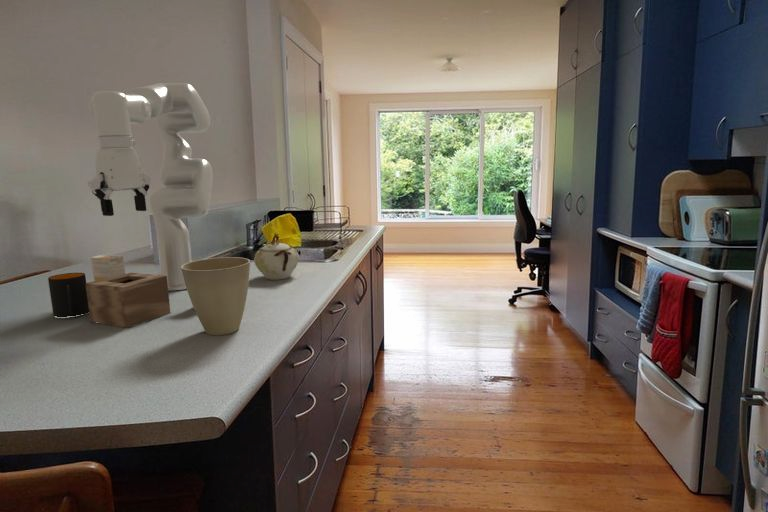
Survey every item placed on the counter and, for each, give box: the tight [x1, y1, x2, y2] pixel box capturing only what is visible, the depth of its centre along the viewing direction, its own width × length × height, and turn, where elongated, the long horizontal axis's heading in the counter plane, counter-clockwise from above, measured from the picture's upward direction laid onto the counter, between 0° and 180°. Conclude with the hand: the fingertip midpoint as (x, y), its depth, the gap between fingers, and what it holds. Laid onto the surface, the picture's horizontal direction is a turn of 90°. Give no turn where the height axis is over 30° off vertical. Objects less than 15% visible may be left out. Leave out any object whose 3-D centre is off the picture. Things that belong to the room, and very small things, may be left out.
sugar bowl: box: [253, 233, 300, 281], centre depth 170 cm, size 20×15×15 cm
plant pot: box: [181, 256, 251, 336], centre depth 114 cm, size 15×15×16 cm
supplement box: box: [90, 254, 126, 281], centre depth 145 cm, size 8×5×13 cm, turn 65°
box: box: [85, 272, 171, 329], centre depth 127 cm, size 13×13×10 cm
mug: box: [47, 272, 89, 317], centre depth 130 cm, size 8×12×10 cm
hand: (125, 213), depth 127 cm, fingers open, 9 cm apart
